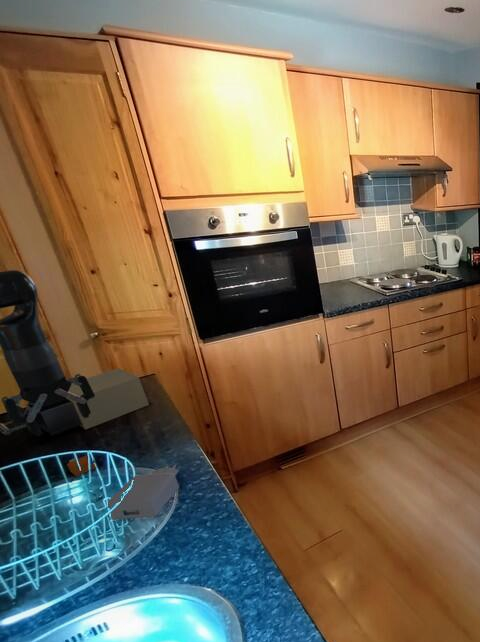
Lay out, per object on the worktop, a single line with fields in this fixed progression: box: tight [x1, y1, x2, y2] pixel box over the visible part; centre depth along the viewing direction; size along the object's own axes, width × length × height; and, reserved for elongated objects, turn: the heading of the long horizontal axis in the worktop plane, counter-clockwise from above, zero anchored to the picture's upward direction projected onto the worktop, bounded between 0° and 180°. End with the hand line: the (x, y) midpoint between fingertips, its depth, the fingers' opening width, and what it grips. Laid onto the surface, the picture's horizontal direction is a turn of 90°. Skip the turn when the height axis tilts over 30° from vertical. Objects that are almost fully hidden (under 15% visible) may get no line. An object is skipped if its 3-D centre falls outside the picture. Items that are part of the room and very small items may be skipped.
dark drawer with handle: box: [0, 398, 82, 444], centre depth 124 cm, size 19×12×8 cm, turn 151°
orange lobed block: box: [66, 455, 97, 477], centre depth 111 cm, size 8×4×3 cm, turn 61°
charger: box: [104, 464, 180, 521], centre depth 102 cm, size 5×9×15 cm
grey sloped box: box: [66, 368, 150, 430], centre depth 134 cm, size 16×13×10 cm
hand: (63, 425), depth 106 cm, fingers open, 8 cm apart
